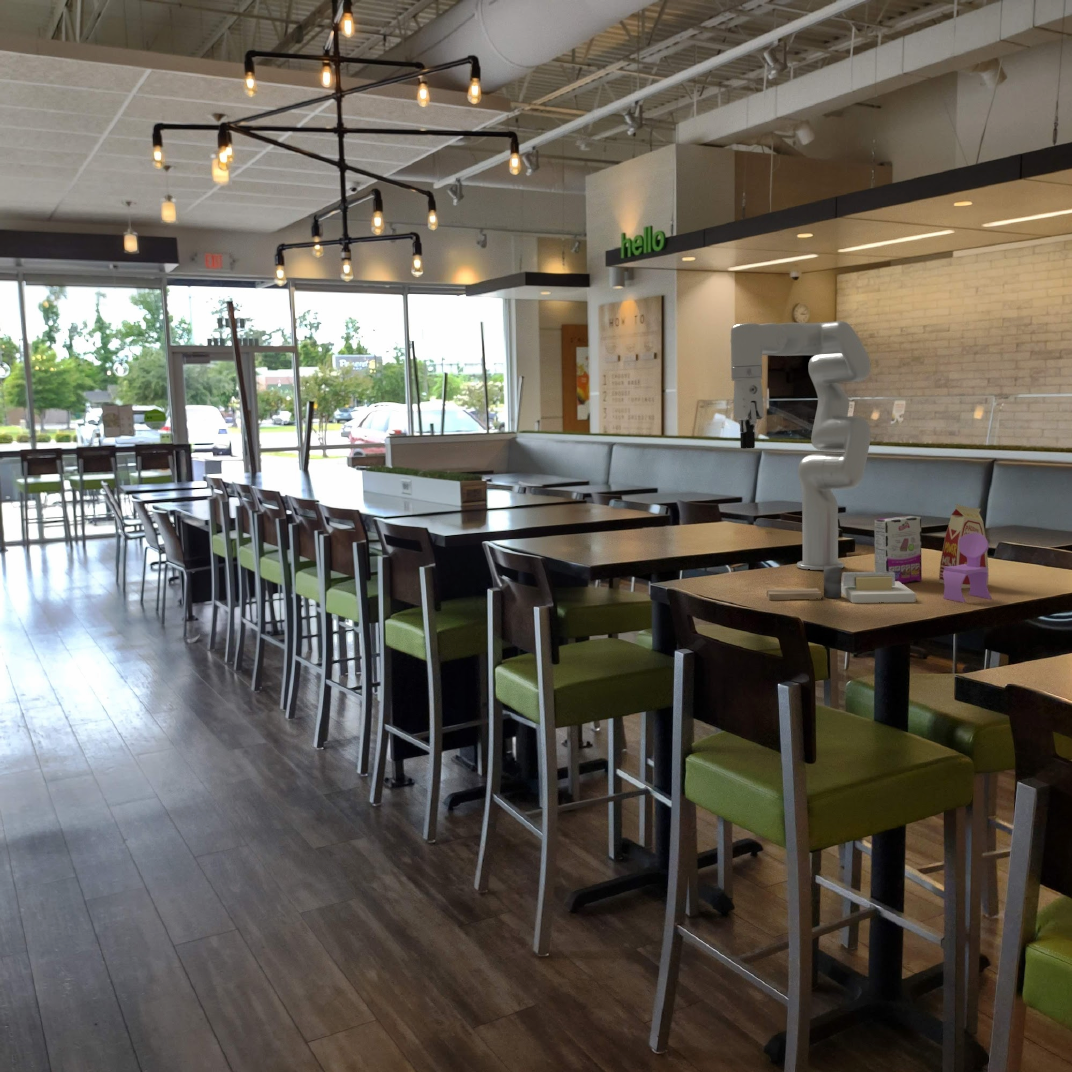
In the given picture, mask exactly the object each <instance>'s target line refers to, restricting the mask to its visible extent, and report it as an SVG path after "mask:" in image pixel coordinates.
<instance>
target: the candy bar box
mask: <svg viewBox="0 0 1072 1072" xmlns="http://www.w3.org/2000/svg"><path fill="white" fill-rule="evenodd" d="M873 523H874V524H873V529H874V531H873V532H874V533H873V534H874V538H873V539H874V572H894V573H895V581H899V582H900V583H903V584H909V583H910V584H911V583H916V582H917V583H919V582H922V580H923V579H922V576H923V575H922V571H923V570H922V517H921V516H916V515H915V516H914V515H907V516H906V515H905V516H895V517H888V518H879V519H878V518H877V519H873Z"/></svg>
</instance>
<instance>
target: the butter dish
mask: <svg viewBox="0 0 1072 1072" xmlns="http://www.w3.org/2000/svg"><path fill="white" fill-rule="evenodd" d="M841 594H842V595H843V596H844V597H846V598H847V600H848V601H849V602H852V604H861V603H862V604H866V603H867V604H869V603H872V604H874V603H877V604H878V603H879V602H880V603H881V602H884V603H916V592H914V591H913V590H912V589H910V588H908V587H907V586H906V585H905V584H904V583H903V584H902V583H900V582H899V581H895V586H892V577H863V578H856V586H854V587H844V586H843V581H841ZM881 604H882V603H881Z"/></svg>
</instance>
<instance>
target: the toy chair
mask: <svg viewBox="0 0 1072 1072" xmlns="http://www.w3.org/2000/svg"><path fill="white" fill-rule="evenodd" d="M958 544H959V549H960V553H962V554H963V555H964V556H966V557H967V564H962V565H957V566H947V567H944V572H943V578H944V584H943V585H944V591H943V597H942V599H943V600H947V599H949V600H948V601H952V600H954V602H957V601H960V602H959V603H962V602H966V600H965V598H964V595H963V592H962V591H963V590H962V588H961V586H962V583H963V581H964V579H965V577H966V576H967V575H968V577H969V580H970V588H969V591H968V595H969V596H972V595H973V597H978V598H983V599H989V600H992V599H993V598H992V596H991V594H990V592H989V589H988V586H987V578H988V579H989V571H988V572H987V567H980V560H981V555H983V554H984V553H985V552H986V551H987V552H988V550H989V541H988V540H987V538H986V536H985V537H984V536H983V535H982V534H979V533H969V534H966V535H964V536H962V537H961V538H960V539H959V543H958Z"/></svg>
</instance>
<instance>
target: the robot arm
mask: <svg viewBox="0 0 1072 1072" xmlns="http://www.w3.org/2000/svg"><path fill="white" fill-rule="evenodd" d="M763 356H775V357H776V356H778V357H779V356H780V357H781V356H782V357H783V356H784V357H787V356H789V357H791V356H811V358H810V359H809V362H808V375H809V377H810V379H811V382H812V384H813V387H814V390H815V392H816V396H817V407H816V412H815V417H814V422H813V427H812V431H811V438H810V439H811V440H810V441H811V445H812V446H813V448H814V449H816V450H818V451H822V452H844V453H812V454H808V455H806V456H805V457H803V458H802V459H801V460H800V462H799V464H798V468H797V473H798V480H799V484H800V491H801V501H802V502H801V508H802V509H801V510H802V511H801V513H802V514H801V515H802V516H801V517H802V519H801V520H802V523H801V524H802V525H801V527H802V528H801V529H802V560H800V561H797V563H796V567H797V568H798V569H802V570H808V569H810V570H809V571H824V567H827V566H837V567H841V569H842V568H844V567H845V565H844V562H843V561H840V560H839V507H838V506H839V505H838V500H837V498H836V496H835V494H834V493H833V492H832V490H852V489H855V488H858V486H859V485H860V484H861V483H862V480H863V477H864V473H865V469H866V464H867V458H868V456H869V455H868V454H869V449H870V444H871V428H870V424H869V422H868V421H867V420H866V418H863V417H861V416H855V415H854V416H853V415H852V416H850V415H848V414H849V409H850V399H849V397H848V394H847V393H846V391H844V389H843V388H842V386H841V385H840V384H839V383H842V384H843V383H858V382H862V381H864V380H865V379H867V378H868V376H869V375H870V372H871V360H870V357H869V354H868V352H867V351H866V348H865V347H864V345H863V343H862V341H861V339H860V337H859V336H858V334H857V332H856V331H855V329H854V328H853V327H852V325H850V324H849V323H848V322H847V321H844V320H838V321H837V320H836V321H828V322H827V321H825V322H787V323H775V322H769V323H755V322H747V323H738V324H734V325H733V326H732V327H731V330H730V360H731V361H730V365H731V366H730V367H731V368H730V371H731V378H730V379H731V381H732V382H734V385H733V386H734V387H733V417H734V419H736V420H737V421H738V425H739V432H740V434H739V435H740V436H739V437H740V441H739V443H740V445H739V446H740V449H755V447H756V435H755V434H756V425H757V423H758V422H757V420H762V419H763V418H764V416H765V415H764V414H765V413H764V412H765V410H764V398H763V397H764V396H763V385H762V380H763Z"/></svg>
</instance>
